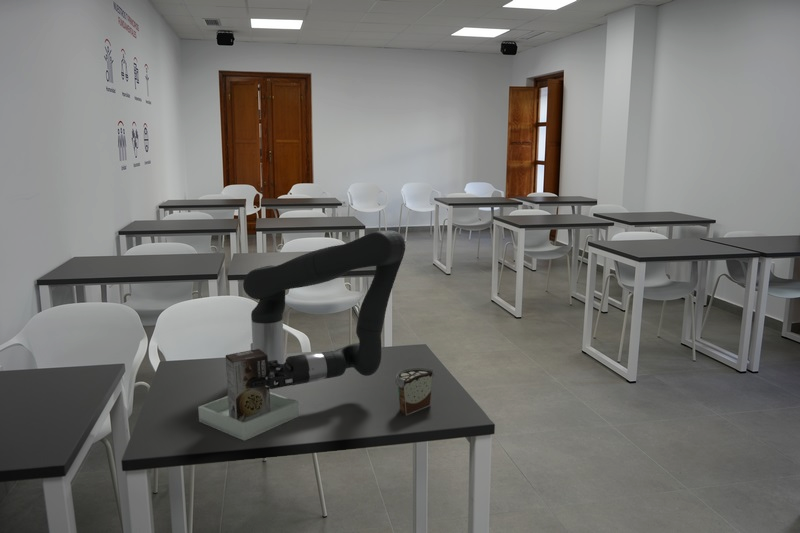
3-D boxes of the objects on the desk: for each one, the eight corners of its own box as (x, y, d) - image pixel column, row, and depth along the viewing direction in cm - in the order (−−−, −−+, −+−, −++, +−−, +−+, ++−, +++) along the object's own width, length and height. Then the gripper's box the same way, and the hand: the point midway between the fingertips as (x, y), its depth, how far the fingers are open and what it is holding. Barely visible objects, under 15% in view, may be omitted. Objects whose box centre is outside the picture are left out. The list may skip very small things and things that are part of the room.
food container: (418, 397, 177) (418, 363, 175) (434, 404, 173) (434, 368, 171) (385, 410, 169) (385, 374, 167) (401, 417, 164) (401, 380, 163)
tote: (199, 421, 162) (198, 406, 161) (253, 400, 175) (253, 386, 175) (244, 440, 151) (243, 424, 151) (299, 416, 165) (298, 401, 164)
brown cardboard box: (261, 407, 168) (259, 348, 165) (271, 415, 163) (269, 354, 160) (227, 414, 163) (224, 354, 160) (236, 423, 158) (233, 361, 155)
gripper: (297, 347, 174) (237, 356, 167) (315, 362, 161) (251, 373, 154) (297, 373, 175) (238, 383, 168) (315, 390, 163) (252, 402, 156)
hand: (244, 378), depth 161 cm, fingers open, 8 cm apart
